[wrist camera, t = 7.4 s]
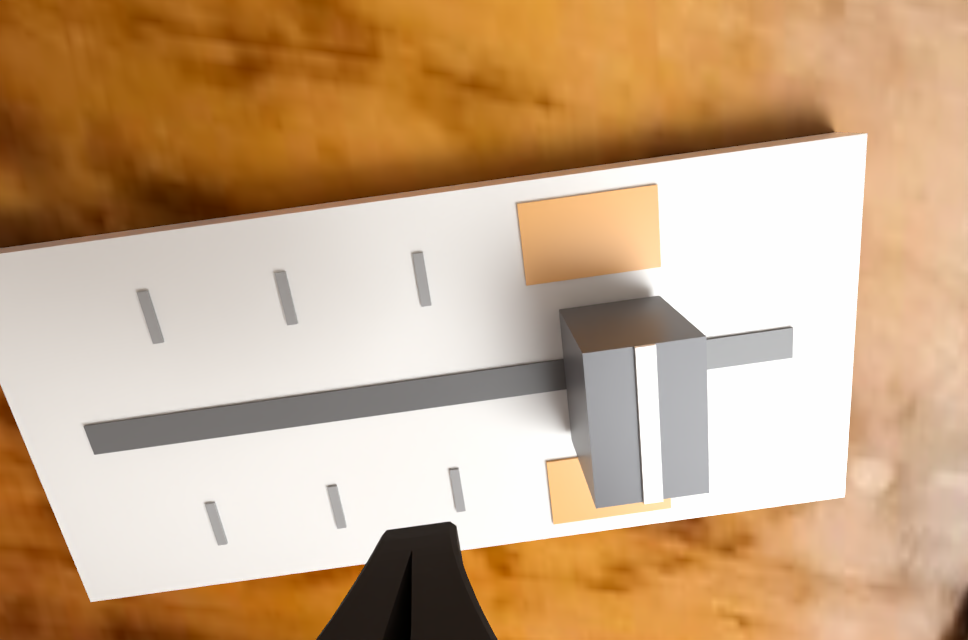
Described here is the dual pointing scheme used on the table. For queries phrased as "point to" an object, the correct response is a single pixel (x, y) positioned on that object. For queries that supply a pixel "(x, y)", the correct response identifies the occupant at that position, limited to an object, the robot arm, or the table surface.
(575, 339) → the fader
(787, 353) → the panel
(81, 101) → the table surface
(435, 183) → the table surface
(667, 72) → the table surface
